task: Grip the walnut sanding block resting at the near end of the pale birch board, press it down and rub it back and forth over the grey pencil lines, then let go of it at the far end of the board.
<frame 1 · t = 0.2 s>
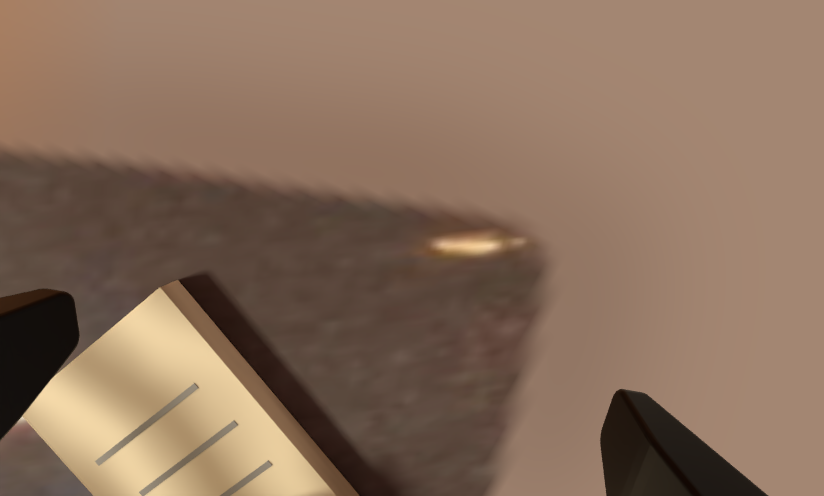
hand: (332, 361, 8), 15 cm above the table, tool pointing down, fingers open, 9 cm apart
birch board: (224, 474, 26), on the table
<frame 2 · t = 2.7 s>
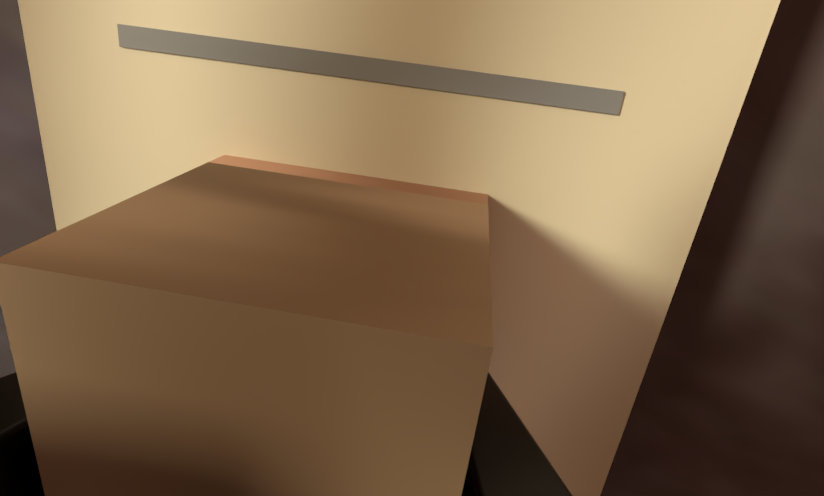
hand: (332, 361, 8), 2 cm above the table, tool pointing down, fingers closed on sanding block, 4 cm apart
sanding block: (341, 343, 9), point 1 cm above the table, touching birch board, gripper
birch board: (384, 30, 8), on the table
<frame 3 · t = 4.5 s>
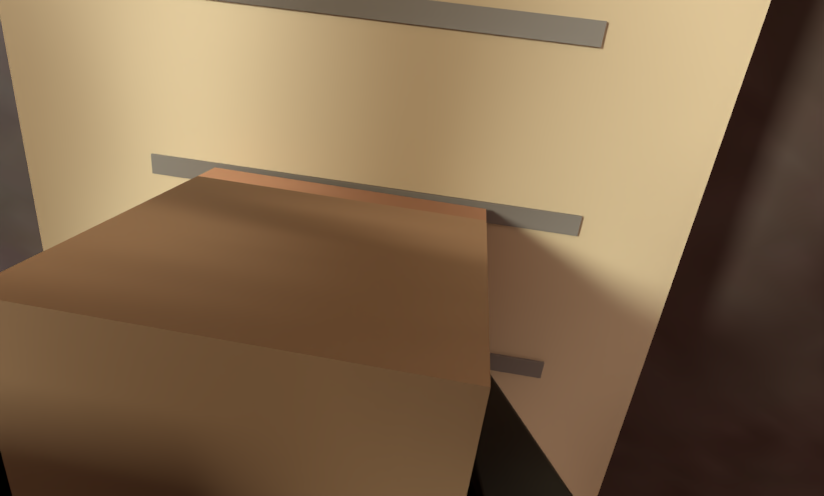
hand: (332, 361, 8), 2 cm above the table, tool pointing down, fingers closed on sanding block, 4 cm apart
sanding block: (335, 359, 9), point 2 cm above the table, touching gripper
birch board: (353, 269, 10), on the table
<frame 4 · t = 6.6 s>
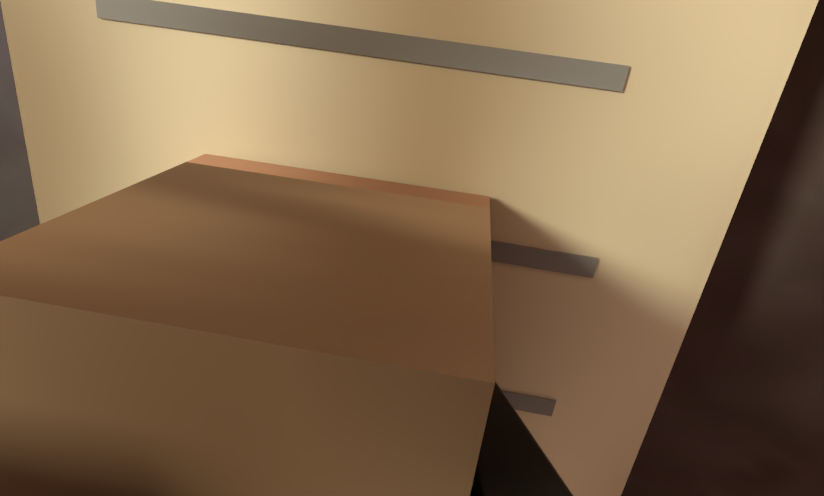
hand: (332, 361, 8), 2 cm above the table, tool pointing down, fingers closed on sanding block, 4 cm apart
sanding block: (332, 355, 8), point 2 cm above the table, touching gripper
birch board: (362, 298, 10), on the table
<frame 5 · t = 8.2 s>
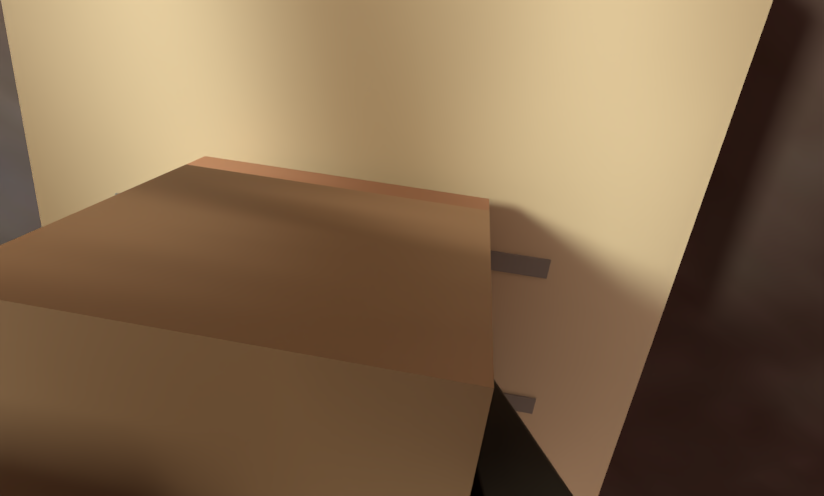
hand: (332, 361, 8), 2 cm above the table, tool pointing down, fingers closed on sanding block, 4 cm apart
sanding block: (332, 357, 8), point 2 cm above the table, touching gripper
birch board: (344, 404, 11), on the table
when the fingers open (2 cm above the table, at t = 9.7 s): sanding block stays where it is, resting on birch board.
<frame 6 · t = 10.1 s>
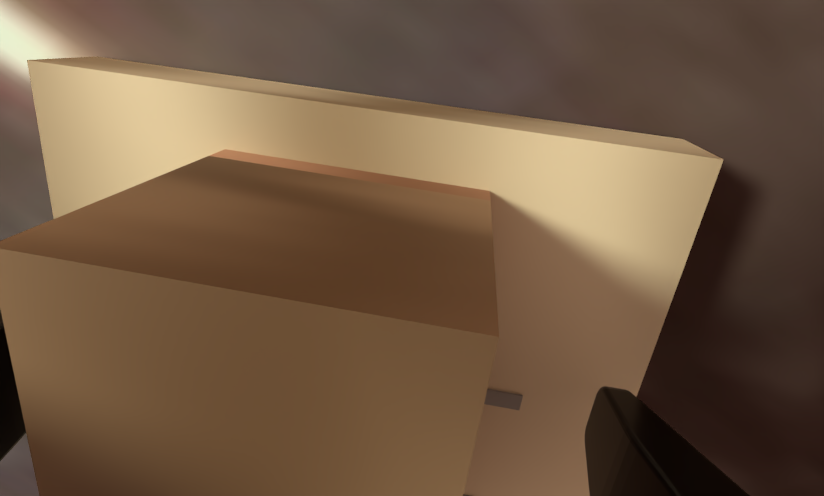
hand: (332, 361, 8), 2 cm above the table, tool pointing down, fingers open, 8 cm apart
sanding block: (340, 341, 9), point 2 cm above the table, touching birch board
birch board: (342, 486, 12), on the table
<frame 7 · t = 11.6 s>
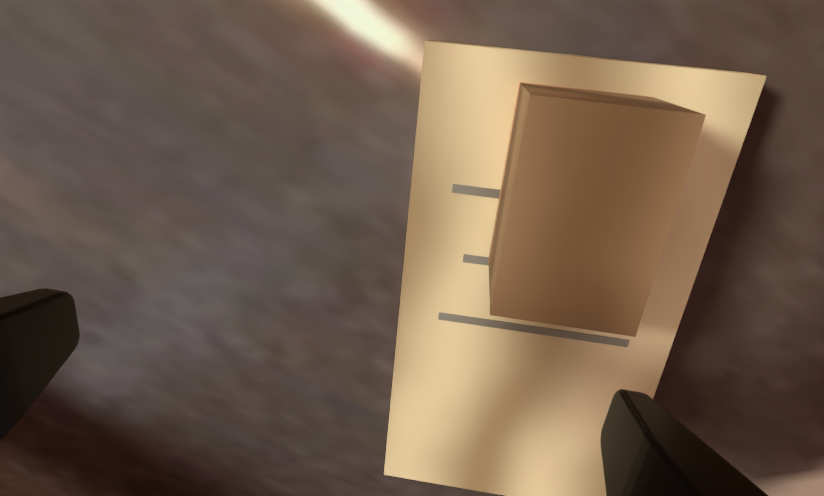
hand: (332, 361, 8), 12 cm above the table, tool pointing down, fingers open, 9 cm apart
sanding block: (563, 184, 17), point 2 cm above the table, touching birch board
birch board: (531, 298, 20), on the table
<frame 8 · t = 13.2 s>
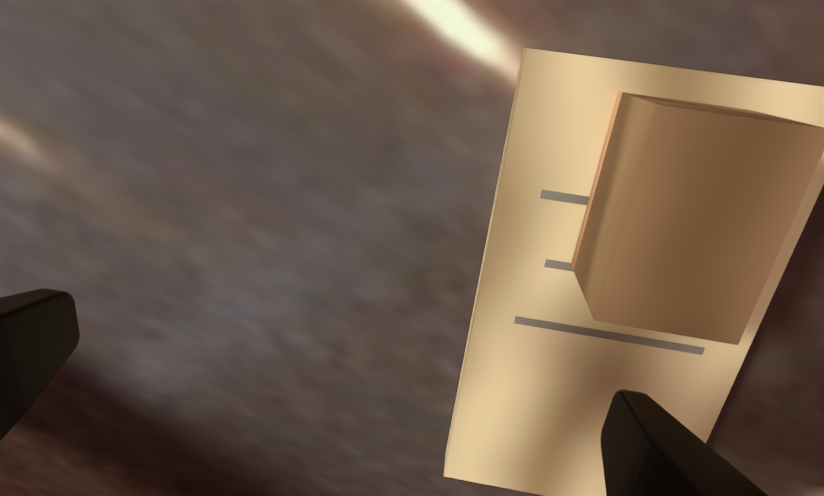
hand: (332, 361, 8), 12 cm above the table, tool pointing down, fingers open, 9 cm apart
sanding block: (653, 193, 17), point 2 cm above the table, touching birch board
birch board: (602, 304, 20), on the table
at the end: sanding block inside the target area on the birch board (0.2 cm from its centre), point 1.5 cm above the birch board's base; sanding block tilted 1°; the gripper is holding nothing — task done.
